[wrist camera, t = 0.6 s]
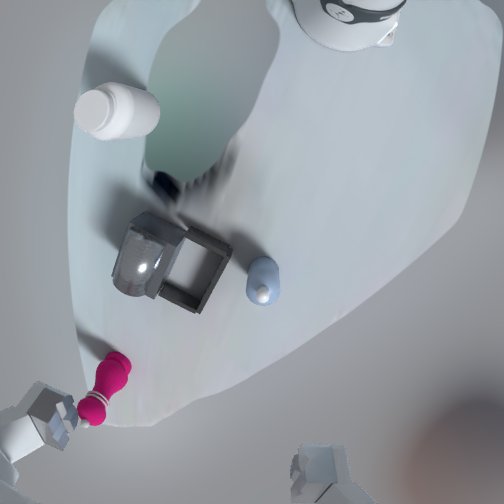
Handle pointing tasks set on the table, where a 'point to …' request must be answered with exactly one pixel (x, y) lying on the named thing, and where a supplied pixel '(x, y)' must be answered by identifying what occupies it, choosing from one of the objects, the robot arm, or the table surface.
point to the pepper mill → (104, 389)
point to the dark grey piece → (161, 260)
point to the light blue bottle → (263, 281)
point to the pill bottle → (116, 112)
